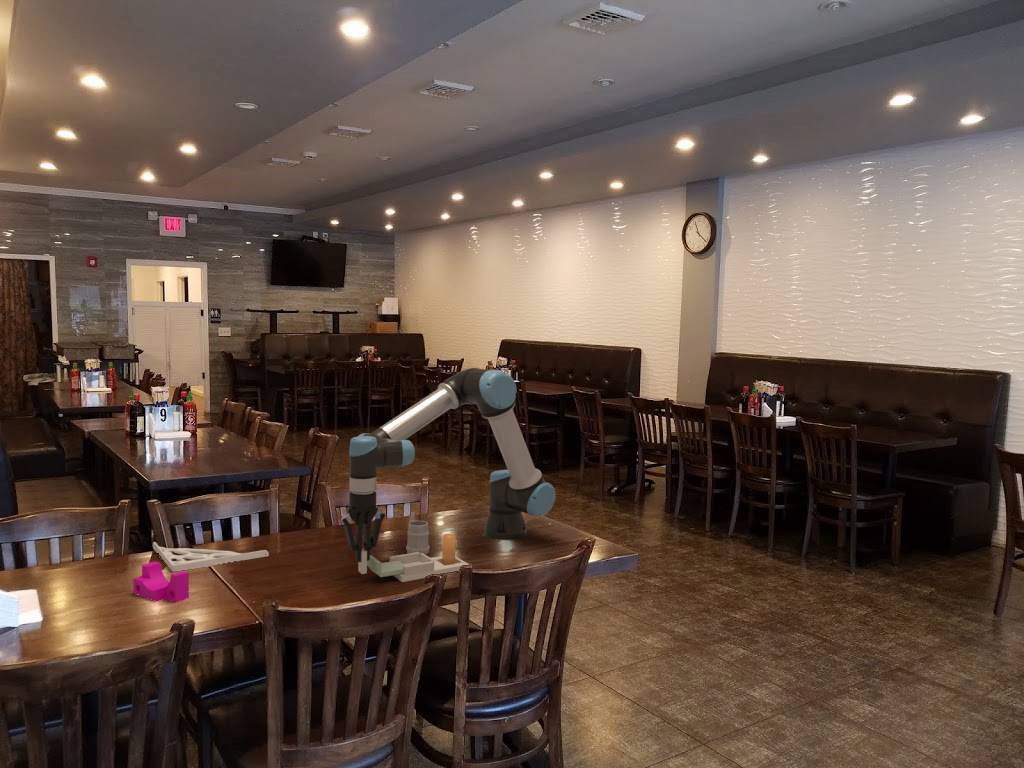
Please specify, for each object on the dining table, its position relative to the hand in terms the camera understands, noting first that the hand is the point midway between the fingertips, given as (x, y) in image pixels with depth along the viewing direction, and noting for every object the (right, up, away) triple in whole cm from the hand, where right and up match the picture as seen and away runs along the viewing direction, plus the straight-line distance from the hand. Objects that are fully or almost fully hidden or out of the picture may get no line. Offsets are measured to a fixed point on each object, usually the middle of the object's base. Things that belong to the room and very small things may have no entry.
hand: (362, 572), depth 215 cm
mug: (+11, -1, +31) cm, 33 cm away
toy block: (-52, -4, -13) cm, 53 cm away
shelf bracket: (-54, -1, +26) cm, 60 cm away
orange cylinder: (+23, -2, +15) cm, 28 cm away
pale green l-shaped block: (+7, -1, +4) cm, 8 cm away
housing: (+17, -3, +12) cm, 21 cm away
